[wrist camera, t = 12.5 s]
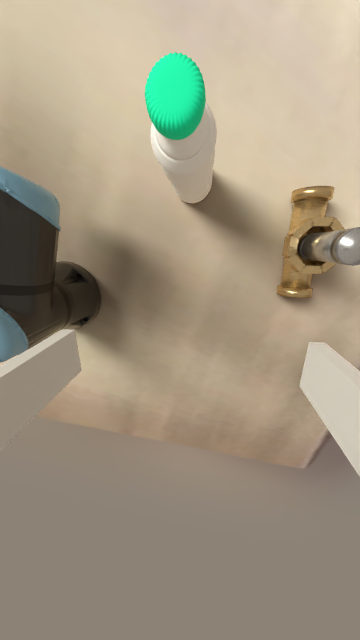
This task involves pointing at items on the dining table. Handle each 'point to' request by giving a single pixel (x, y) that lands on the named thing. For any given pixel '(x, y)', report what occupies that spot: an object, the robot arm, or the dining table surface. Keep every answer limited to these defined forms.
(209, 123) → the water bottle
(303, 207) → the tee fitting
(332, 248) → the metal cylinder
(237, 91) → the dining table surface
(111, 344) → the dining table surface
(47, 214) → the robot arm
